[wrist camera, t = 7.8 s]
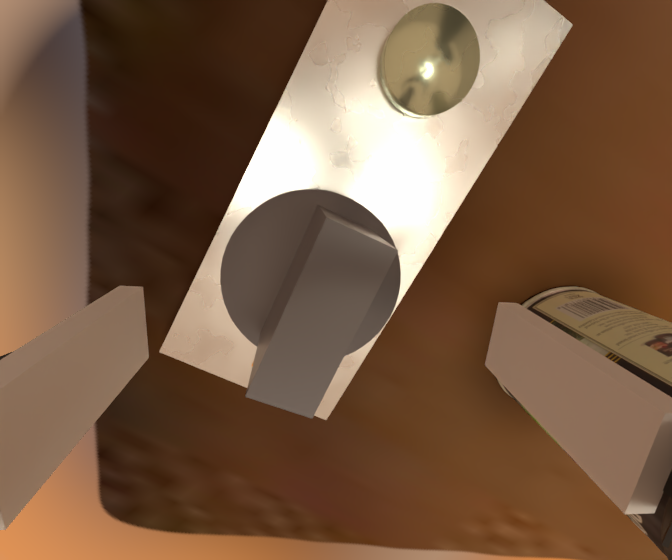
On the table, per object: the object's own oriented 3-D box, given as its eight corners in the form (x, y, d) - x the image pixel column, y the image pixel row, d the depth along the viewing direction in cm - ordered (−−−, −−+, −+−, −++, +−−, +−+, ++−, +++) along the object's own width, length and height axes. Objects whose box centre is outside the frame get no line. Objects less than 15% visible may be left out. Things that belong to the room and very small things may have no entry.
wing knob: (265, 157, 20) (244, 145, 12) (420, 232, 22) (486, 262, 14) (203, 314, 22) (151, 389, 14) (349, 368, 24) (373, 459, 16)
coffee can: (526, 426, 30) (718, 637, 16) (468, 338, 27) (643, 504, 13) (635, 357, 29) (935, 517, 15) (588, 257, 26) (906, 347, 12)
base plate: (380, -99, 19) (396, -152, 16) (548, 38, 21) (590, 15, 18) (170, 338, 24) (151, 361, 21) (324, 402, 27) (327, 431, 24)
